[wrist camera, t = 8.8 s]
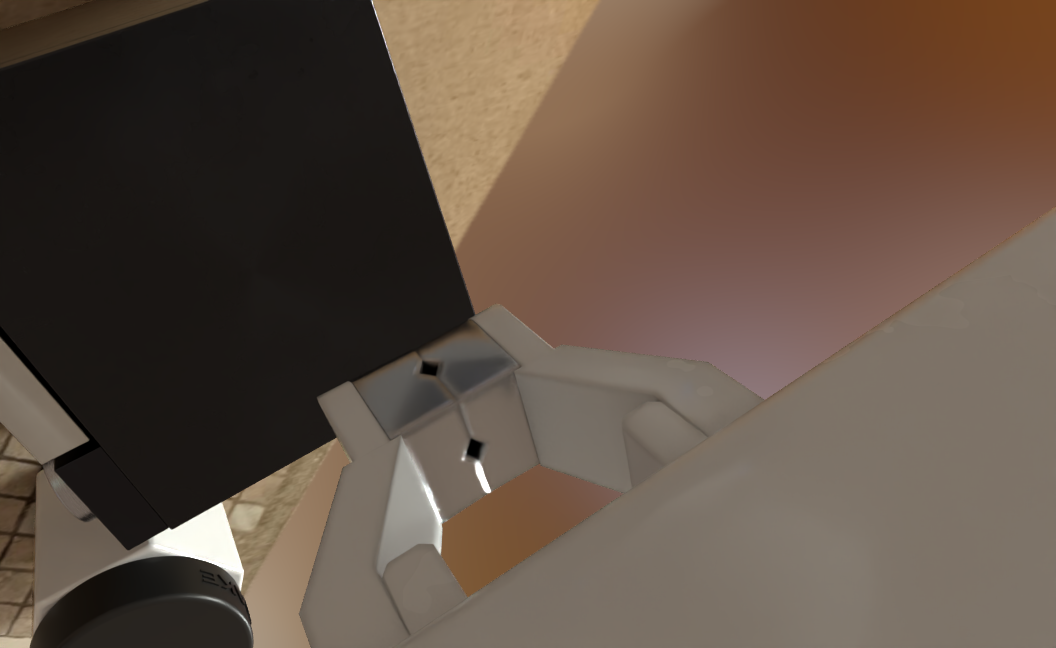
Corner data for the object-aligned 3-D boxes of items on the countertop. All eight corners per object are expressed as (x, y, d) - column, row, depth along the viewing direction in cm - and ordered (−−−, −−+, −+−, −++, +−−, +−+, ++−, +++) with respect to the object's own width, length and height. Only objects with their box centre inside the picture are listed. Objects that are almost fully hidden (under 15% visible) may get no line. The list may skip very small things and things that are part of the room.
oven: (90, 403, 34) (105, 568, 25) (-170, 82, 25) (-290, 163, 16) (387, 258, 40) (488, 352, 31) (264, -53, 30) (356, -48, 21)
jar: (199, 554, 41) (242, 726, 32) (28, 579, 36) (23, 789, 27) (217, 422, 38) (270, 571, 29) (35, 431, 34) (31, 612, 25)
